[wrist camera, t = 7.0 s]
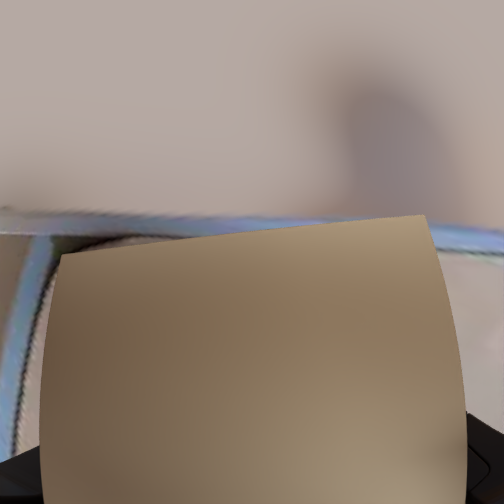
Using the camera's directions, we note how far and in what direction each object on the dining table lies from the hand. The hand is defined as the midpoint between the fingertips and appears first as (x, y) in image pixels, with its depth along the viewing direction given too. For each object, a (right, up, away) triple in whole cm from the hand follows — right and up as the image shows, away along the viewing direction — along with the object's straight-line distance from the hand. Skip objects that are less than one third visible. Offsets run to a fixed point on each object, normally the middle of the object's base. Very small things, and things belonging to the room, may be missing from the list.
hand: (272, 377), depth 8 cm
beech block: (+1, -4, +5) cm, 7 cm away
